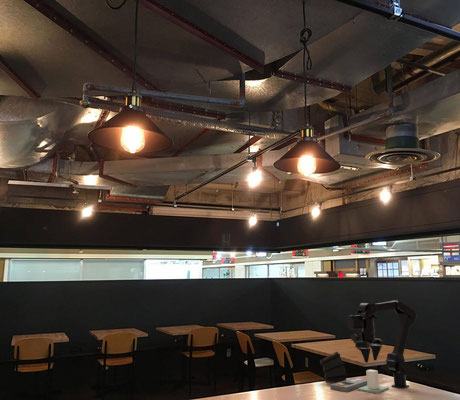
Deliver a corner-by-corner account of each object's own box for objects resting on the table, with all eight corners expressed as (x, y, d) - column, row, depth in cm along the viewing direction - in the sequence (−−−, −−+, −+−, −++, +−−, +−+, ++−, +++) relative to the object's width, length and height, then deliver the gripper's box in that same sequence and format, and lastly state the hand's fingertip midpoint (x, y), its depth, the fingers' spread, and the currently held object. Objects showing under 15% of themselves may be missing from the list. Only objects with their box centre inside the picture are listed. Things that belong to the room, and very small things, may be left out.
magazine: (352, 378, 227) (338, 352, 230) (331, 390, 226) (317, 363, 229) (350, 377, 231) (337, 351, 234) (329, 388, 230) (316, 362, 233)
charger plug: (371, 386, 211) (370, 369, 213) (379, 387, 209) (377, 370, 210) (367, 388, 209) (366, 370, 210) (375, 389, 206) (373, 371, 208)
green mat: (369, 386, 216) (369, 384, 216) (388, 389, 209) (388, 387, 209) (357, 390, 208) (357, 388, 208) (377, 393, 201) (377, 391, 201)
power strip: (358, 380, 231) (358, 375, 231) (374, 382, 225) (373, 377, 225) (330, 389, 211) (330, 383, 212) (347, 391, 205) (346, 385, 206)
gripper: (362, 326, 227) (364, 357, 224) (344, 329, 214) (346, 362, 211) (382, 327, 220) (385, 359, 216) (365, 330, 206) (367, 364, 203)
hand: (370, 361), depth 212 cm, fingers open, 9 cm apart
